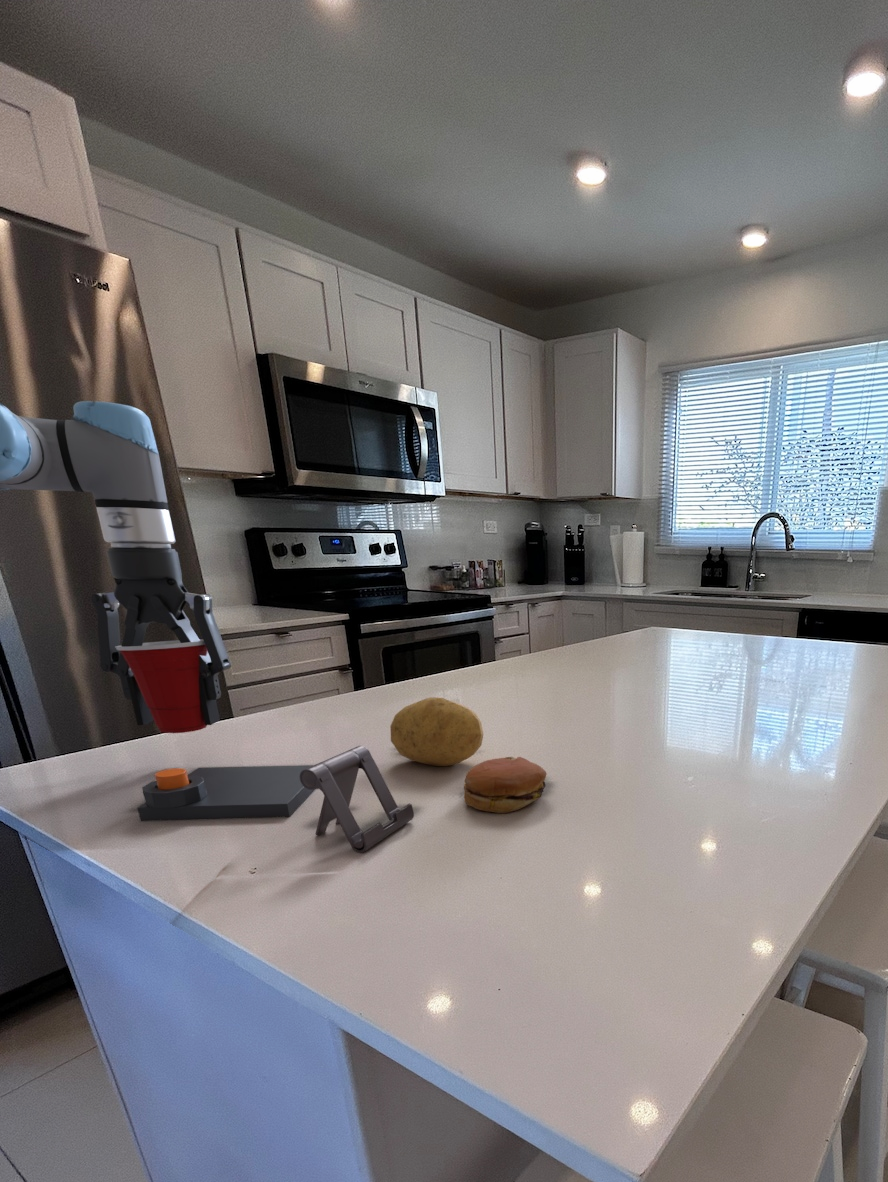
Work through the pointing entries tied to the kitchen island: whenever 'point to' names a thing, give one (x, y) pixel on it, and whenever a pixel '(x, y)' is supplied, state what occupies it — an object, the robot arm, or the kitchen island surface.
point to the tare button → (172, 778)
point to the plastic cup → (169, 682)
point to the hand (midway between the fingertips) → (179, 722)
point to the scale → (228, 794)
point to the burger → (504, 784)
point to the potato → (436, 732)
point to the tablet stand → (338, 788)
